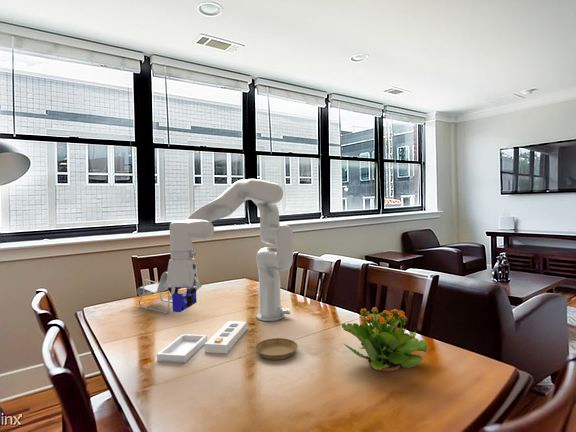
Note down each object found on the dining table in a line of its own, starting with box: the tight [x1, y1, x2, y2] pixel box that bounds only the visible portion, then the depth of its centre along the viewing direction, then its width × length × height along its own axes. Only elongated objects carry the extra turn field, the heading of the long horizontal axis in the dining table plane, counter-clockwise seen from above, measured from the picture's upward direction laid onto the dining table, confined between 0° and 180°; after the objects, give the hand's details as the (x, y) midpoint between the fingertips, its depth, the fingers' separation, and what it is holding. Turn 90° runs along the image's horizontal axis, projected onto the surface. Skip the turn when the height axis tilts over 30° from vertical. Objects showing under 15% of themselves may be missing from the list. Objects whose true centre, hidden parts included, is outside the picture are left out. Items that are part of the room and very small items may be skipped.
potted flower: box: [341, 306, 428, 373], centre depth 112 cm, size 25×24×18 cm
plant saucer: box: [254, 337, 298, 361], centre depth 124 cm, size 15×15×3 cm
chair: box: [137, 271, 187, 314], centre depth 183 cm, size 13×25×20 cm, turn 57°
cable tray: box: [156, 333, 208, 364], centre depth 127 cm, size 10×18×2 cm, turn 169°
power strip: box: [204, 320, 248, 354], centre depth 137 cm, size 8×24×4 cm, turn 169°
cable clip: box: [171, 286, 198, 313], centre depth 129 cm, size 12×4×6 cm, turn 168°
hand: (183, 305), depth 130 cm, fingers closed on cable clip, 4 cm apart
